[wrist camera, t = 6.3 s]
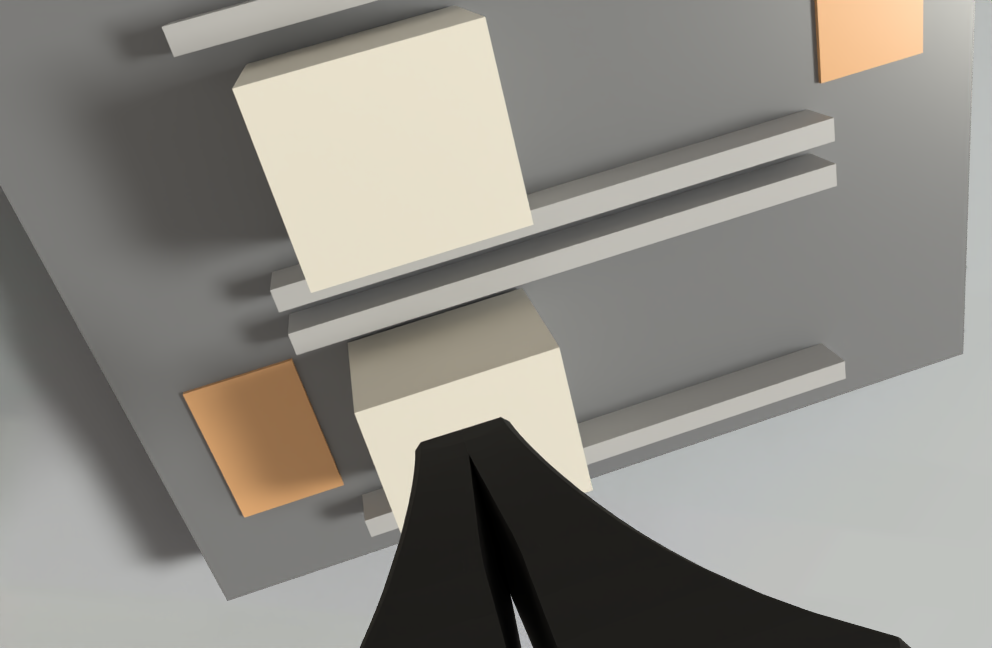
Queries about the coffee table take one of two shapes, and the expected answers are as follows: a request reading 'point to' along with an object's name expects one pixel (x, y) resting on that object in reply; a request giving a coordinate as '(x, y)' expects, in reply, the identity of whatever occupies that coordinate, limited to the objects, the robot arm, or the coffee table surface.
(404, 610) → the robot arm
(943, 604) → the coffee table surface
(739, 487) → the coffee table surface
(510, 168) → the tab
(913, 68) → the switch board
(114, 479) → the coffee table surface
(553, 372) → the tab
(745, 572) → the coffee table surface
